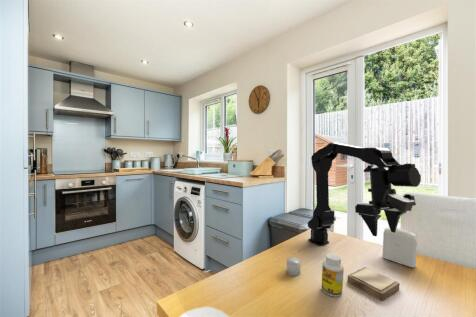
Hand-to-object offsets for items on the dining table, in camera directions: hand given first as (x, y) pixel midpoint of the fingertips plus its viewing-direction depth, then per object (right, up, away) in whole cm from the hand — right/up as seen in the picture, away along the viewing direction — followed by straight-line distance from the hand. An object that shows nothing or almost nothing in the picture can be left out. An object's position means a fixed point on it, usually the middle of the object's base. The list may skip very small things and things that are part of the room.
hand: (384, 234), depth 72 cm
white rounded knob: (-29, -13, +1) cm, 32 cm away
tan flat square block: (-7, -14, -5) cm, 16 cm away
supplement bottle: (-20, -14, -8) cm, 26 cm away
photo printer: (+12, -14, +11) cm, 21 cm away
